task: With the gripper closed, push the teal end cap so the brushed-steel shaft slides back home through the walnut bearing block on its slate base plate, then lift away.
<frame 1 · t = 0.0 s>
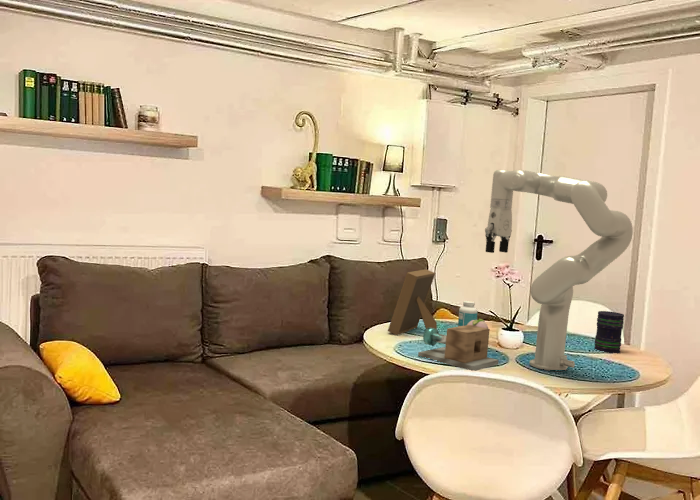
hand: (496, 252, 253), 37 cm above the table, tool pointing down, fingers open, 9 cm apart
shaft: (447, 340, 242), point 6 cm above the table, slide at 8.0 cm
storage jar: (606, 351, 278), on the table
pill bottle: (466, 334, 288), on the table
decorative fruit: (475, 343, 273), on the table
photo frame: (414, 333, 283), on the table
bearing block: (455, 359, 240), on the table
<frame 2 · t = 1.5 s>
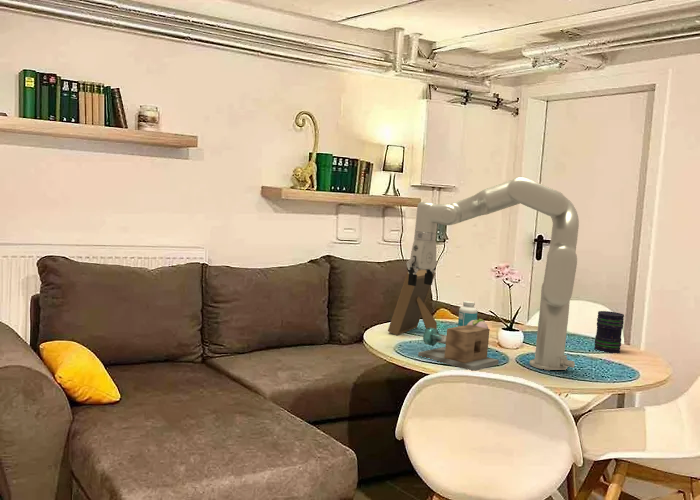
hand: (420, 284, 250), 23 cm above the table, tool pointing down, fingers open, 9 cm apart
nothing on the table moved.
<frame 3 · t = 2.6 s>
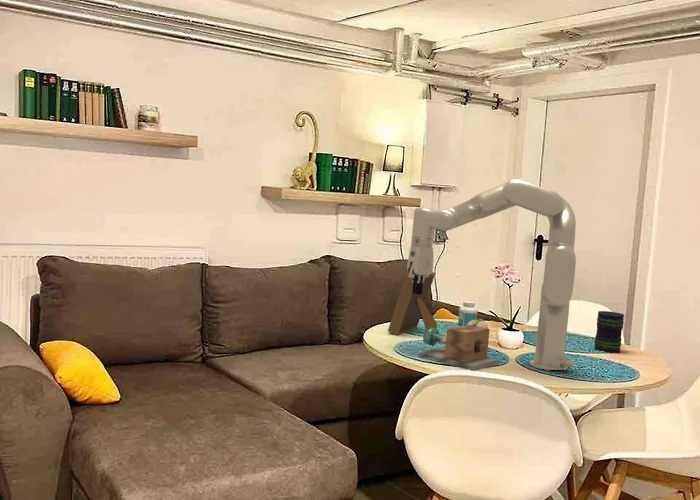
hand: (416, 293, 250), 20 cm above the table, tool pointing down, fingers closed
nothing on the table moved.
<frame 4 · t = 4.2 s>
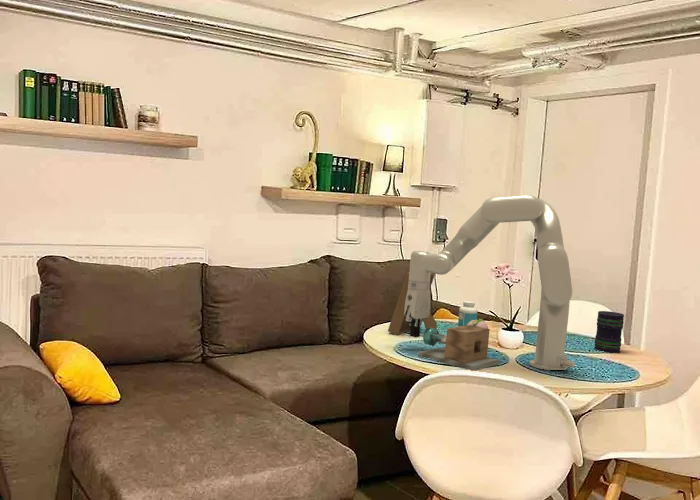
hand: (414, 336, 252), 5 cm above the table, tool pointing down, fingers closed
nothing on the table moved.
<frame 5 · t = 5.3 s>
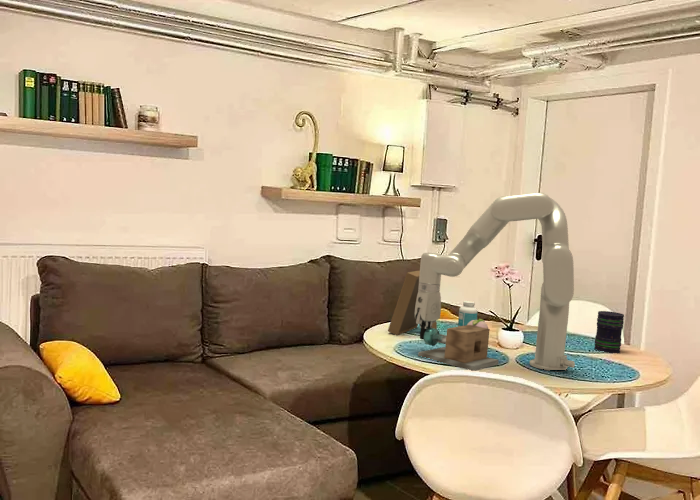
hand: (424, 339, 249), 4 cm above the table, tool pointing down, fingers closed
shaft: (447, 340, 242), point 6 cm above the table, slide at 7.7 cm, touching gripper
everything else where it was.
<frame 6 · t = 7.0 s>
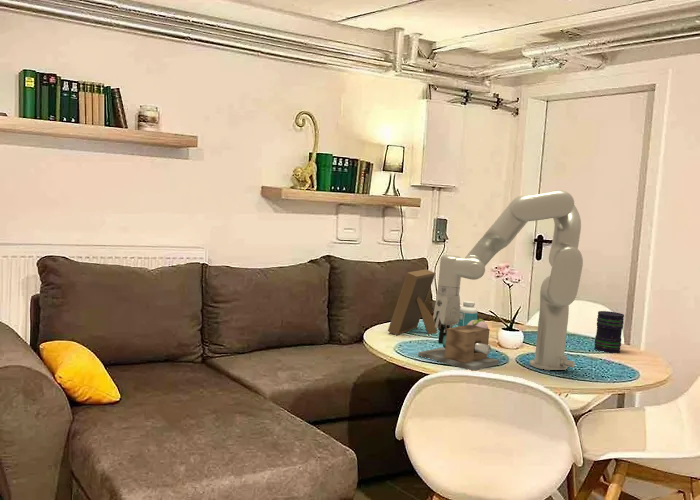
hand: (443, 343, 243), 5 cm above the table, tool pointing down, fingers closed
shaft: (467, 344, 237), point 6 cm above the table, slide at -0.1 cm, touching gripper
everything else where it was.
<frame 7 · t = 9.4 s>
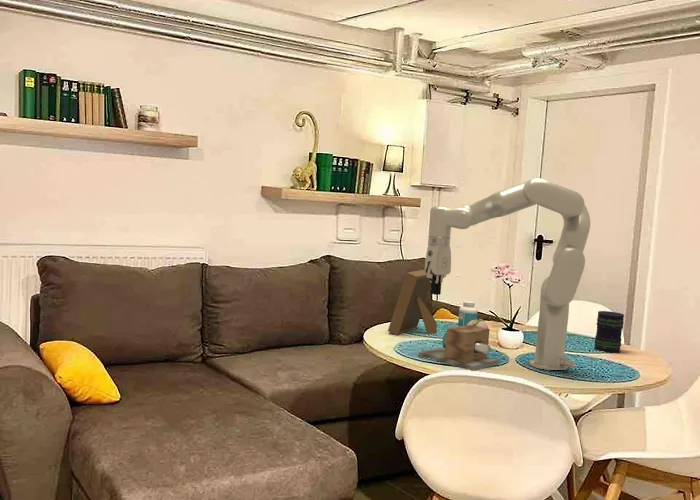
hand: (435, 294, 246), 21 cm above the table, tool pointing down, fingers closed
shaft: (467, 344, 237), point 6 cm above the table, slide at 0.0 cm
everything else where it was.
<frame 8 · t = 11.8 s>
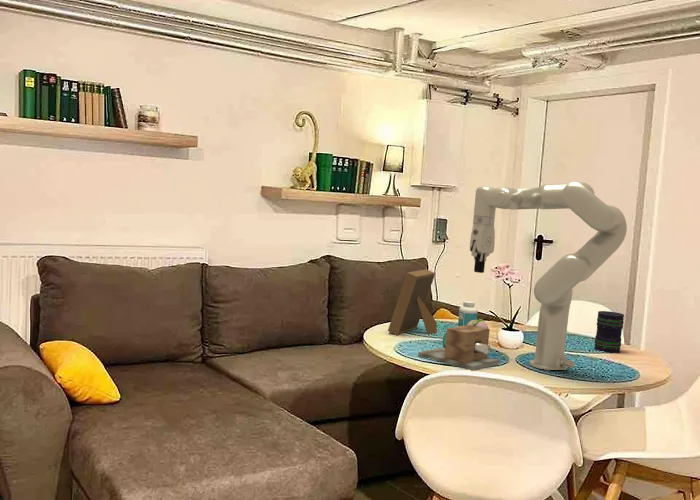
hand: (478, 272, 253), 29 cm above the table, tool pointing down, fingers closed
nothing on the table moved.
at the end: shaft slide at 0.0 cm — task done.
